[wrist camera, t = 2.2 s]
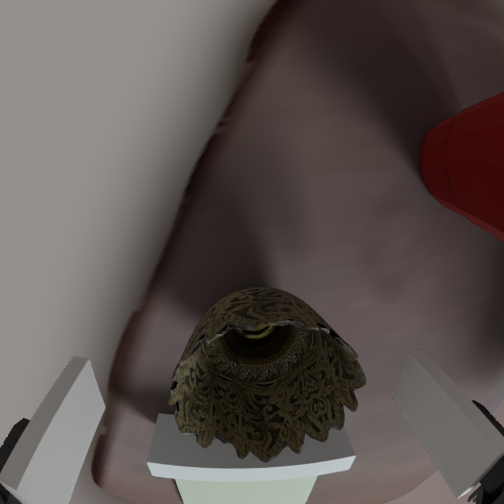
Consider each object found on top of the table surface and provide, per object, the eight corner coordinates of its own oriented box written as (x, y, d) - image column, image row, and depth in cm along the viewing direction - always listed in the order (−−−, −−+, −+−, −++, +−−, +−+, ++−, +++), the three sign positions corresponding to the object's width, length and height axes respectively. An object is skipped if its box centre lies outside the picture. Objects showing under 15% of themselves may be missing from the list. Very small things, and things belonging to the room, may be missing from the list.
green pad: (327, 439, 21) (329, 445, 20) (303, 500, 24) (304, 505, 23) (166, 442, 20) (165, 449, 19) (186, 503, 23) (186, 508, 22)
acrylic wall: (337, 410, 20) (356, 455, 15) (332, 425, 20) (348, 469, 15) (158, 413, 19) (146, 461, 14) (162, 428, 19) (152, 475, 14)
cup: (169, 327, 17) (136, 421, 9) (238, 229, 16) (243, 280, 8) (266, 380, 18) (282, 475, 11) (337, 299, 17) (399, 377, 9)
